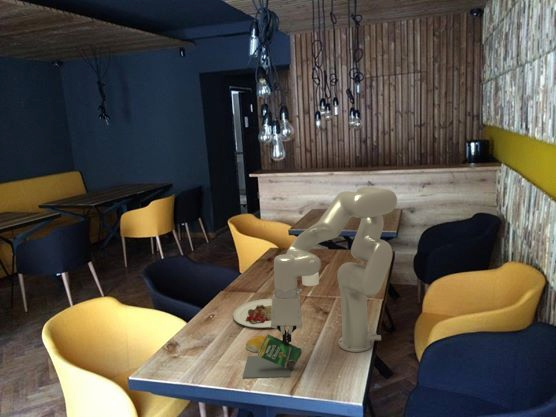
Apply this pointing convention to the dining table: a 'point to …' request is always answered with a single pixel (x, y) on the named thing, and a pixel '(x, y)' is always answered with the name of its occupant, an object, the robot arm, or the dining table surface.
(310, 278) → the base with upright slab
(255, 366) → the mat
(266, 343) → the coffee box
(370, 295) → the robot arm
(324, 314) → the dining table surface
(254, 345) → the bread roll
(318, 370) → the dining table surface
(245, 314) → the plated food
